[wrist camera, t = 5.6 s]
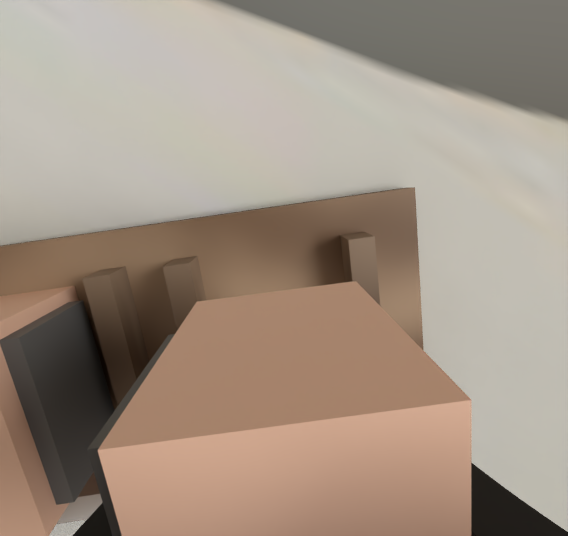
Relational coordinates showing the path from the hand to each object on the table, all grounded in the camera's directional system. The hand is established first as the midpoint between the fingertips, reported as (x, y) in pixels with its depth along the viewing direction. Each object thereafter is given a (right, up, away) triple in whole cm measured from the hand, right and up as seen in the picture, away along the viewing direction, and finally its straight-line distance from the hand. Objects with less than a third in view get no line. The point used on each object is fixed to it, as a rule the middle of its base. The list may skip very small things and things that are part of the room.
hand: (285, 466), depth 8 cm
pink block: (-10, 0, +7) cm, 12 cm away
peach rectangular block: (0, +1, +1) cm, 2 cm away
